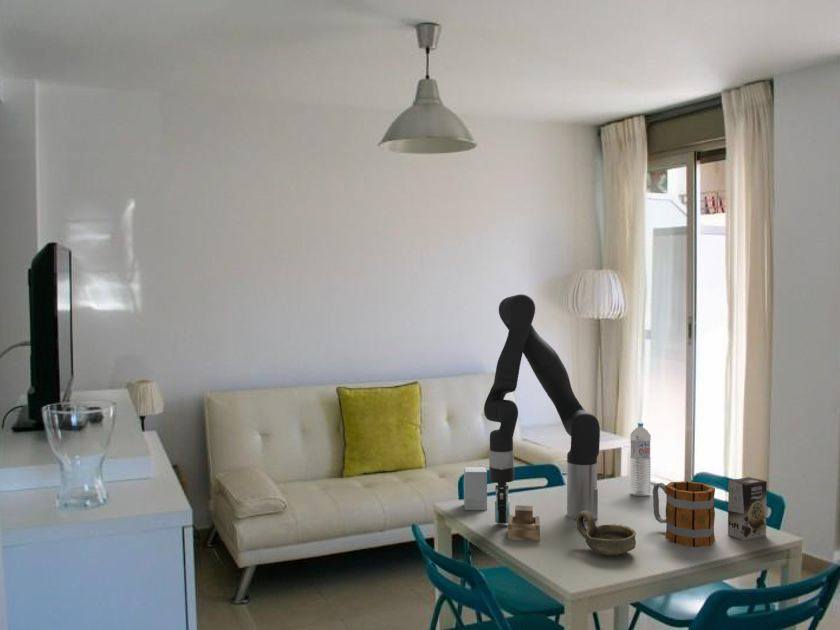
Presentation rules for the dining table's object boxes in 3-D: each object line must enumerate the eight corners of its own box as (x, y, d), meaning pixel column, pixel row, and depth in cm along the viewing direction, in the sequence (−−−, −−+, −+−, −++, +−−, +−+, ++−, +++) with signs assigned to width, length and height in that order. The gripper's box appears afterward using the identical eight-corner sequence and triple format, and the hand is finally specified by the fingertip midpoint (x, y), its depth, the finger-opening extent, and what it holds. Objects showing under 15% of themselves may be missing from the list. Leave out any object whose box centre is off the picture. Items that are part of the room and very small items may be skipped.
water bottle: (631, 496, 260) (631, 424, 259) (629, 491, 267) (629, 421, 266) (651, 497, 259) (652, 425, 258) (649, 492, 266) (649, 421, 265)
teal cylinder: (509, 519, 231) (509, 500, 230) (509, 524, 226) (509, 504, 226) (495, 519, 231) (495, 499, 231) (495, 523, 227) (494, 503, 227)
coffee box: (745, 541, 213) (746, 484, 213) (726, 534, 219) (727, 479, 218) (767, 536, 217) (767, 480, 217) (748, 530, 223) (748, 476, 223)
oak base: (539, 531, 223) (539, 516, 223) (539, 540, 214) (539, 525, 214) (508, 529, 224) (508, 515, 224) (508, 539, 215) (507, 524, 215)
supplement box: (487, 510, 244) (487, 471, 244) (464, 510, 245) (464, 471, 244) (485, 504, 252) (485, 466, 251) (463, 504, 252) (463, 466, 252)
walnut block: (532, 522, 221) (532, 505, 221) (532, 528, 216) (532, 510, 216) (515, 522, 222) (515, 505, 222) (515, 527, 217) (515, 510, 217)
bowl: (620, 566, 194) (620, 528, 194) (563, 550, 207) (563, 514, 206) (647, 553, 204) (647, 516, 203) (591, 538, 216) (591, 504, 216)
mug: (725, 541, 213) (725, 488, 213) (695, 550, 206) (695, 495, 205) (668, 523, 230) (668, 474, 229) (638, 531, 222) (638, 481, 222)
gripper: (490, 459, 236) (490, 513, 236) (488, 470, 222) (489, 527, 222) (514, 459, 235) (514, 514, 235) (514, 470, 221) (514, 528, 221)
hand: (502, 520), depth 229 cm, fingers closed on teal cylinder, 4 cm apart
